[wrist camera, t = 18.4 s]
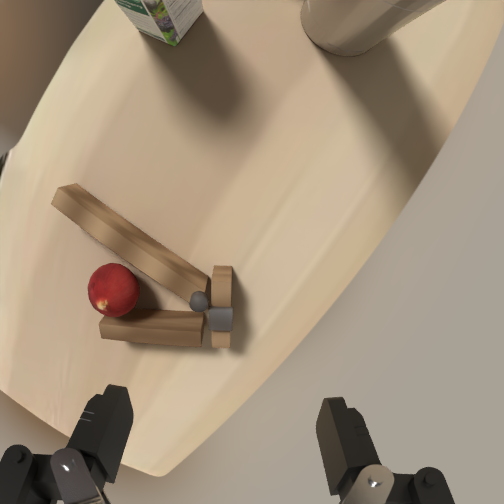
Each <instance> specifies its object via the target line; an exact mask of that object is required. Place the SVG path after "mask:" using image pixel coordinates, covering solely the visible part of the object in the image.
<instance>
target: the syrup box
mask: <svg viewBox="0 0 504 504" xmlns="http://www.w3.org/2000/svg"><path fill="white" fill-rule="evenodd" d="M114 1H115V2H116V3H117V4H118V6H119V7H120V8H121V10H122V11H123V12H124V13H125V15H126V16H127V17H128V18H129V20H130V21H131V22H132V23H133V25H134V26H135V27H136V28H137V29H138V30H139V31H141V32H143V33H145V34H148V35H150V36H152V37H154V38H156V39H159V40H161V41H163V42H166V43H168V44H170V45H172V46H176V45H177V44H178V43H179V41H180V40H181V39H182V37H183V36H184V35H185V33H186V32H187V31H188V29H189V28H190V27H191V26H192V24H193V23H194V22H195V20H196V19H197V18H198V17H199V16H200V14H201V13H202V12H203V5H202V1H201V0H114Z"/></svg>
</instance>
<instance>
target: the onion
mask: <svg viewBox="0 0 504 504" xmlns="http://www.w3.org/2000/svg"><path fill="white" fill-rule="evenodd" d="M139 294H140V292H139V284H138V282H137V279H136V277H135V275H134V274H133V273H132V272H131V271H130V270H129V269H128V268H126V267H125V266H123V265H121V264H116V263H109V264H106V265H103V266H101V267H99V268H98V269H97V270H96V271H95V272H94V273H93V274H92V276H91V278H90V281H89V284H88V295H89V300H90V302H91V304H92V306H93V307H94V309H96V310H97V311H99V312H100V313H101V314H103V315H106V316H108V317H119V316H122V315H124V314H126V313H128V312H129V311H130V310H131V309H133V308H134V306H135V305H136V303H137V300H138V297H139Z"/></svg>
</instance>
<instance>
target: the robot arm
mask: <svg viewBox="0 0 504 504" xmlns="http://www.w3.org/2000/svg"><path fill="white" fill-rule="evenodd" d="M444 1H446V0H306V1H305V3H304V5H303V7H302V10H301V22H302V26H303V28H304V30H305V32H306V33H307V35H308V36H309V37H310V39H311V40H312V41H313V42H314V43H316V44H317V45H318V46H320V47H321V48H323V49H324V50H326V51H328V52H330V53H333V54H337V55H340V56H356V55H360V54H363V53H364V52H366V51H367V50H369V49H370V48H372V47H373V46H375V45H376V44H378V43H379V42H381V41H382V40H384V39H385V38H387V37H388V36H390V35H391V34H393V33H394V32H396V31H397V30H399V29H400V28H402V27H403V26H405V25H406V24H408V23H410V22H411V21H413V20H414V19H416V18H418V17H419V16H421V15H422V14H424V13H426V12H427V11H429V10H431V9H432V8H434V7H435V6H437V5H439V4H441V3H442V2H444ZM132 424H133V409H132V405H131V401H130V398H129V394H128V390H127V388H126V387H122V386H116V385H111V384H109V385H108V386H107V387H106V389H105V391H104V393H103V395H100V394H96V395H95V396H94V397H92V398H91V399H90V400H89V401H88V403H87V405H86V407H85V409H84V412H83V413H82V415H81V417H80V419H79V421H78V423H77V425H76V427H75V429H74V431H73V434H72V436H71V438H70V440H69V442H68V444H67V446H66V447H65V448H62V449H59V450H57V451H56V452H55V453H54V454H53V455H42V454H32V453H31V452H30V450H29V449H28V448H27V447H25V446H23V445H13V446H10V447H9V448H8V449H7V450H6V451H5V453H4V455H3V457H2V459H1V461H0V504H56V503H57V500H63V502H64V504H111V503H110V501H109V499H108V497H107V495H106V493H105V491H104V489H103V488H104V485H105V482H109V483H114V482H115V478H116V475H117V472H118V468H119V465H120V462H121V459H122V455H123V452H124V449H125V446H126V443H127V439H128V436H129V433H130V430H131V427H132ZM316 433H317V438H318V442H319V447H320V451H321V455H322V459H323V463H324V468H325V472H326V477H327V481H328V486H329V490H330V494H331V495H338V494H339V496H340V500H341V501H340V502H339V504H455V503H454V500H453V498H452V495H451V493H450V490H449V487H448V485H447V483H446V480H445V478H444V475H443V474H442V472H441V471H439V470H438V469H436V468H432V467H425V468H422V469H420V470H419V471H418V472H417V473H416V474H414V475H413V474H396V473H392V472H391V471H390V470H389V469H388V468H387V467H385V466H382V464H381V463H380V460H379V458H378V455H377V452H376V450H375V447H374V444H373V442H372V439H371V437H370V435H369V432H368V429H367V427H366V424H365V421H364V419H363V416H362V415H361V414H360V413H359V412H358V411H357V410H356V409H355V408H347V406H346V403H345V400H344V398H343V397H333V398H324V400H323V403H322V406H321V409H320V412H319V415H318V419H317V422H316Z"/></svg>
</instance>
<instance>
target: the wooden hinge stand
mask: <svg viewBox="0 0 504 504" xmlns="http://www.w3.org/2000/svg"><path fill="white" fill-rule="evenodd" d="M231 279H232V266H214V269H213V274H212V280H211V306H209V330H212V347H214V348H230V331H232V319H233V307H231ZM99 328H100V333H101V338H103V339H111V340H120V341H129V342H139V343H150V344H162V345H176V346H193V347H201V344H202V338H203V331H204V312H190V311H171V310H155V309H140V308H133V309H131V310H130V311H129V312H128V313H126V314H124V315H122V316H119V317H108V316H106V315H105V316H104V317H103V318H102V320H101V321H100V323H99Z"/></svg>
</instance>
